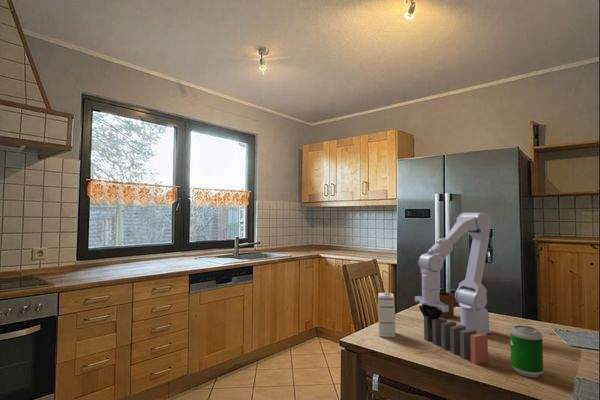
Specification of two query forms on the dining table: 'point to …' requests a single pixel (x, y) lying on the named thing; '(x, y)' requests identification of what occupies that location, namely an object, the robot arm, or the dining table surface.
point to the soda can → (526, 351)
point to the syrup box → (386, 314)
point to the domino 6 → (479, 348)
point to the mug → (448, 300)
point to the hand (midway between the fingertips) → (431, 327)
